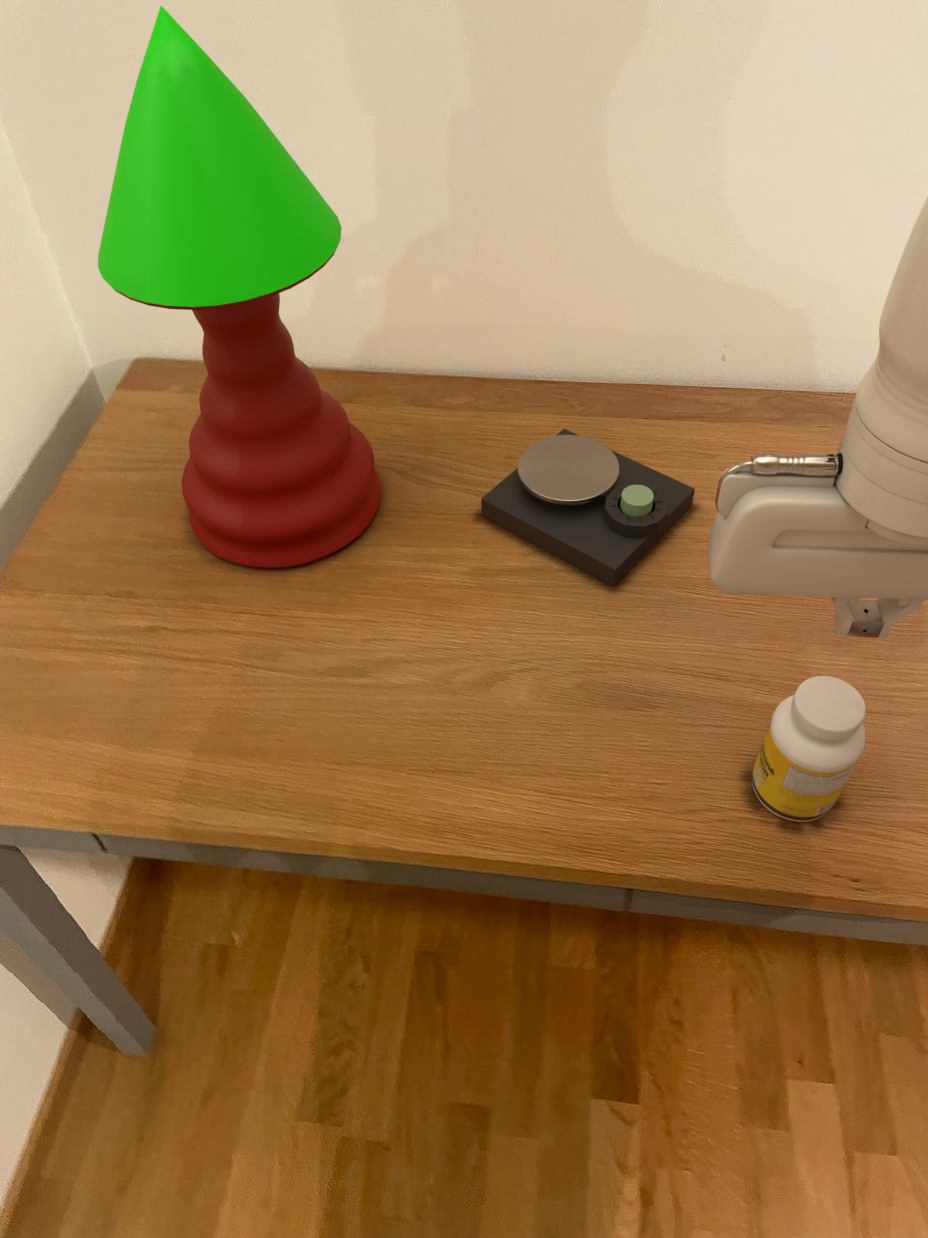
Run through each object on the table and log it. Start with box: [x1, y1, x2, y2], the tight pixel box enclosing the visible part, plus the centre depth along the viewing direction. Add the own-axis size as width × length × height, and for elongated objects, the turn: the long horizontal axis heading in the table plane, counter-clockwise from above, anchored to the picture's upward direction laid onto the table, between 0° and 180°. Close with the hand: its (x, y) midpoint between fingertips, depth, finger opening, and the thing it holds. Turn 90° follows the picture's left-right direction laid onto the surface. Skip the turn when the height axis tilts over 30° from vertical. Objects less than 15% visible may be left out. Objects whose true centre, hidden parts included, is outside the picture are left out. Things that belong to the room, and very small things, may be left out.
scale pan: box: [517, 434, 619, 505], centre depth 91 cm, size 10×10×1 cm
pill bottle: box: [751, 675, 867, 823], centre depth 68 cm, size 6×6×12 cm
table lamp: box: [97, 5, 382, 569], centre depth 79 cm, size 20×20×45 cm
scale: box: [480, 428, 696, 587], centre depth 92 cm, size 16×14×4 cm
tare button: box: [620, 485, 654, 517], centre depth 88 cm, size 3×3×2 cm
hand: (858, 629), depth 58 cm, fingers closed
